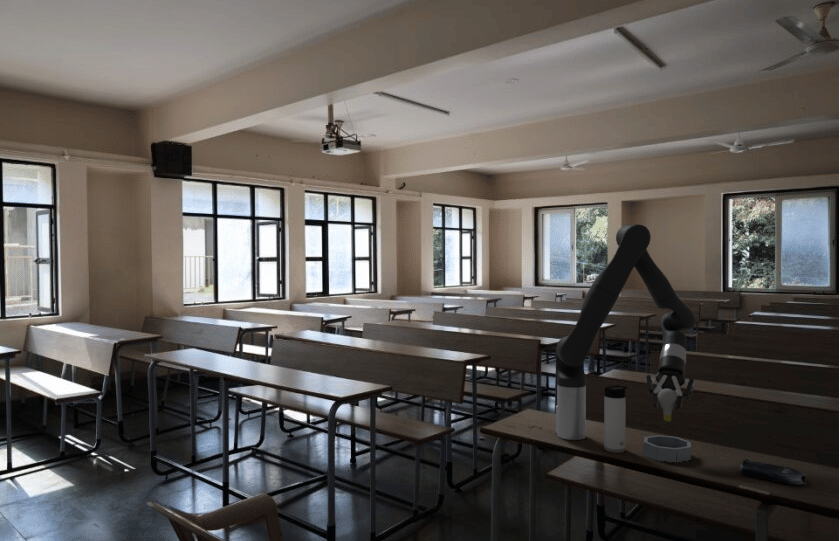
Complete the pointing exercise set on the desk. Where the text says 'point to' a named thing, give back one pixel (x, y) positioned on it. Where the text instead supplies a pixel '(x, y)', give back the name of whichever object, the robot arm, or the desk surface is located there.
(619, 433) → the travel mug
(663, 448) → the bowl
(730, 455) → the desk surface
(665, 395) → the light bulb
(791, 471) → the electronic device
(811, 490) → the desk surface
